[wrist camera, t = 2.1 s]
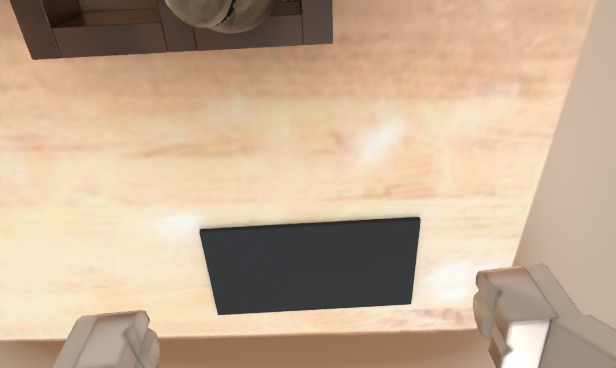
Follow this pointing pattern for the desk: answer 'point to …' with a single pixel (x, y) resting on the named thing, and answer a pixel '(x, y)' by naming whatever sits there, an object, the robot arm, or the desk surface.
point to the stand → (159, 29)
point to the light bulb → (223, 13)
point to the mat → (312, 265)
